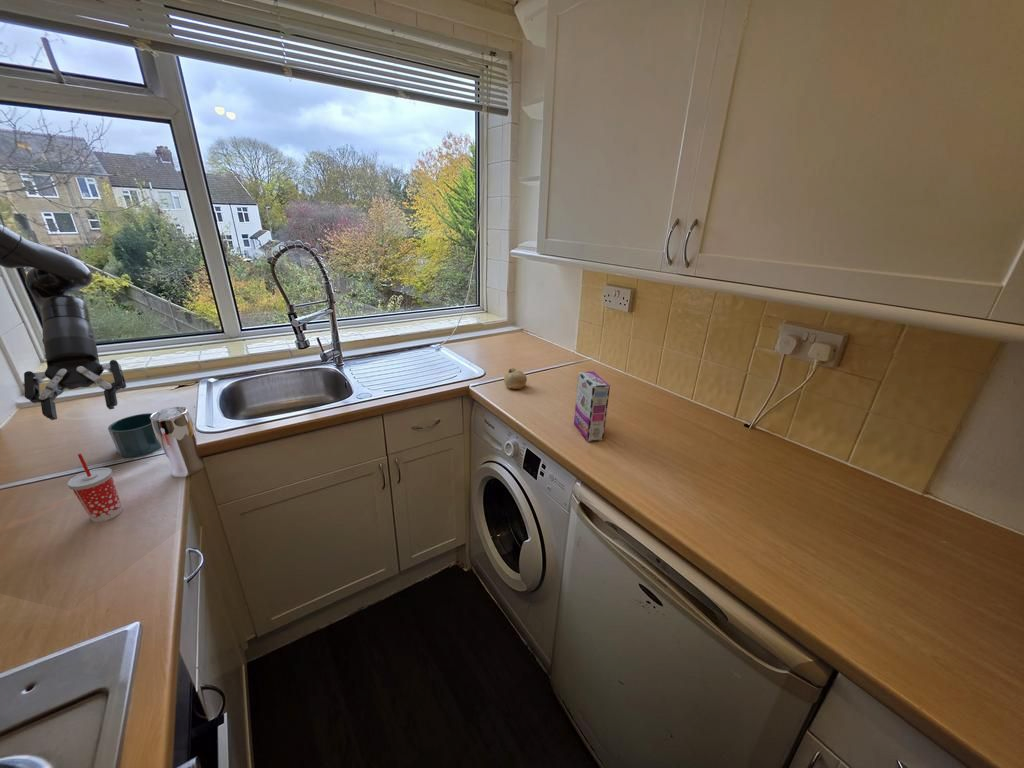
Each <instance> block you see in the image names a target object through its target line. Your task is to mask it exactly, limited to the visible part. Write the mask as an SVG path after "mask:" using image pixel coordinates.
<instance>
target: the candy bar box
mask: <svg viewBox="0 0 1024 768" xmlns="http://www.w3.org/2000/svg"><path fill="white" fill-rule="evenodd" d="M577 373H578V374H577V384H576V385H577V386H576V396H575V407H574V419H573V424H574V426H575V427H576V429H577V430H578V431H579V433H580V434H581V435H582V437H583V438H584V439H585V441H586V442H587V443H592V442H601V441H604V437H605V430H606V421H607V413H608V405H609V404H608V403H609V399H610V398H609V397H610V388H611V385H610V384H609V383H608V382H606V381H605V380H604V379H603V378H602V377H601V376H600V375H598V373H596V372H595V371H578V372H577Z"/></svg>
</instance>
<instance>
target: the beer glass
mask: <svg viewBox="0 0 1024 768" xmlns="http://www.w3.org/2000/svg"><path fill="white" fill-rule="evenodd" d="M150 420H151V424H152V428H153V431H154V434H155V437H156V439H157V441H158V443H159V445H160V446H161V449H162V451H163V453H164V455H166V457H167V458H168V460H169V463H170V468H171V476H173V477H175V478H187V477H190V476H193V475H195V474H197V473H199V472H201V471H202V470H203V469H204V468H205V463H204V461H203V460H202V458H201V457H200V454H199V451H198V443H197V433H196V428H195V425H194V421H193V420H192V417H191V414H190V413H189V411H188V408H187V407H184V406H173V407H167V408H163V409H161V410H157V411H155V412H153V414H152V415H151V416H150Z"/></svg>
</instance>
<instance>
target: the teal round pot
mask: <svg viewBox="0 0 1024 768" xmlns="http://www.w3.org/2000/svg"><path fill="white" fill-rule="evenodd" d="M153 413H154V412H153ZM153 413H152V412H148V413H140V414H135V415H130V416H127V417H124V418H121V419H119V420H116V421H114V422H112V423H111V424H110V425H109V426H108V427H107V430H108V432H109V434H110V437H111V439H112V442H113V444H114V447H115V449H116V451H117V453H118V456H120V457H123V458H134V457H140V456H141V457H142V456H146V455H148V454H151V453H154V452H156V451H159V450H161V449H162V448H161V446H160V445H159V443H158V441H157V439H156V437H155V434H154V431H153V428H152V424H151V420H150V416H151V415H152V414H153Z"/></svg>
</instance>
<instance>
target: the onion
mask: <svg viewBox="0 0 1024 768" xmlns="http://www.w3.org/2000/svg"><path fill="white" fill-rule="evenodd" d="M503 382H504V385H505V386H506V387H507V388H509V389H513V390H522V388H523V387H525V385H526V384H527V382H528V378H527V376H526V374H525V373H524V372H523V371H522V370H519V369H516V368H514V367H512V368H509V369H508V370H507V372H506V373H505V375H504V377H503Z"/></svg>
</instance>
